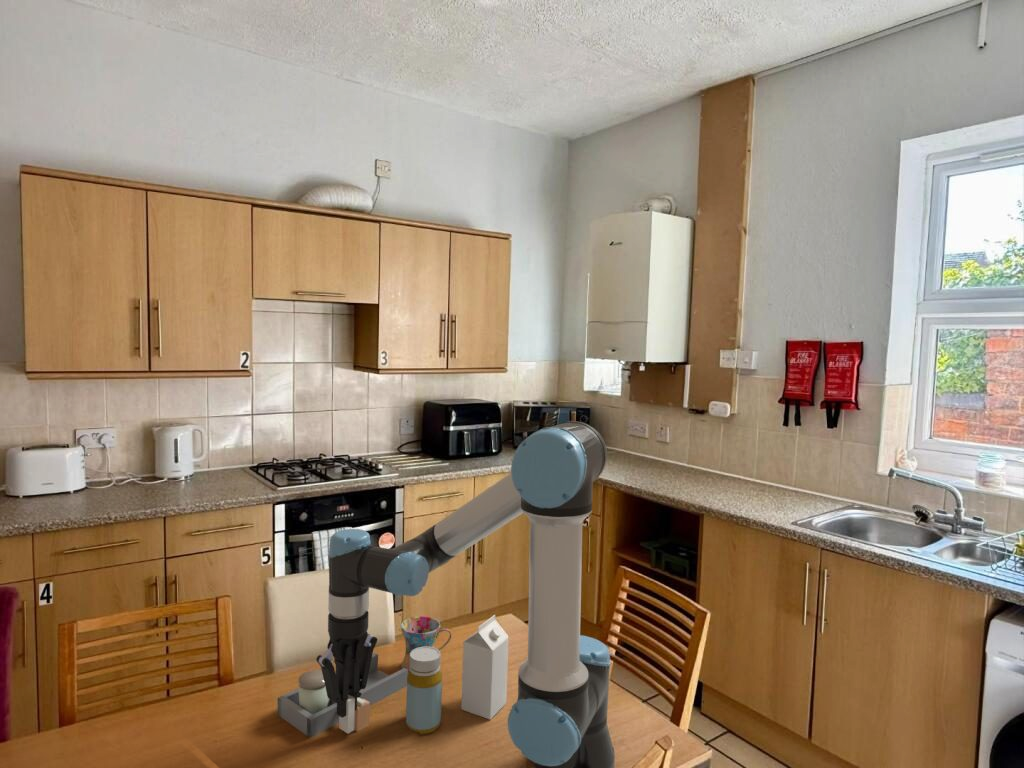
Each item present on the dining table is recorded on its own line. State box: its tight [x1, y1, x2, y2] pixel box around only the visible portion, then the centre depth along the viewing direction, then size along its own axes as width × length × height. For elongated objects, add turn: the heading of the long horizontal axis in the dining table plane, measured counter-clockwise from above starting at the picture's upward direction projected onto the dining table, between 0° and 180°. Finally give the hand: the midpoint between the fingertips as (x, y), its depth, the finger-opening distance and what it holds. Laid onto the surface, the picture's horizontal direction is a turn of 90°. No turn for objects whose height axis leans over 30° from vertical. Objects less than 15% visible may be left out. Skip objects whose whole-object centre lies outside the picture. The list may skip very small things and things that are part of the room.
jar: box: [297, 669, 330, 715], centre depth 130 cm, size 6×6×8 cm
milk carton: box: [461, 614, 509, 720], centre depth 136 cm, size 7×7×19 cm
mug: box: [400, 615, 452, 672], centre depth 152 cm, size 12×9×11 cm
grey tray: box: [277, 652, 408, 739], centre depth 136 cm, size 11×25×4 cm, turn 142°
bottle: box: [405, 646, 443, 735], centre depth 129 cm, size 7×7×15 cm
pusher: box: [330, 698, 371, 732], centre depth 131 cm, size 15×3×5 cm, turn 52°
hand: (346, 729), depth 124 cm, fingers closed
